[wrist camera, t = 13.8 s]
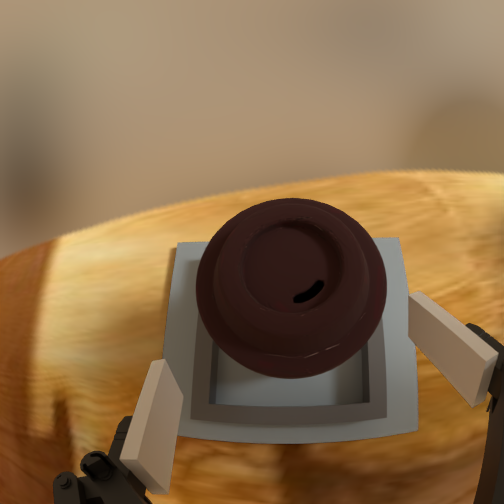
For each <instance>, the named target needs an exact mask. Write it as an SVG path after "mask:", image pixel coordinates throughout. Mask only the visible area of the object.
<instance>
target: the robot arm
mask: <svg viewBox="0 0 504 504" xmlns="http://www.w3.org/2000/svg"><path fill="white" fill-rule="evenodd" d="M408 337H409V338H410V339H411V340H412V341H413V342H414V344H415V345H416V346H417V347H418V348H419V349H420V350H421V351H422V352H423V353H424V354H425V355H426V356H427V358H428V359H429V360H430V361H431V362H432V363H433V364H434V365H435V366H436V367H437V369H438V370H439V371H440V372H441V373H442V374H443V375H444V376H445V377H446V379H447V380H448V381H449V382H450V383H451V384H452V385H453V386H454V388H455V389H456V390H457V391H458V392H459V393H460V394H461V396H462V397H463V398H464V399H465V400H466V401H467V403H468V404H469V405H470V406H471V407H472V408H473V407H475V406H477V405H478V404H480V403H481V402H483V401H484V400H485V398H486V395H487V392H489V393H490V394H491V395H492V397H491V400H490V402H489V405H488V408H487V411H486V412H488V411H489V409H490V412H489V423H488V432H487V440H486V447H485V453H484V459H483V464H482V469H481V474H480V479H479V483H478V488H477V492H476V496H475V499H474V503H473V504H504V346H503V345H502V344H500V343H499V342H498V341H497V340H495V339H494V338H493V337H492V336H491V337H490V335H489V334H488V333H485V331H484V330H483V329H481V328H480V327H479V326H477V325H474V324H471V323H468V324H466V325H464V324H462V323H461V322H460V321H459V320H457V319H456V318H455V317H453V316H452V315H451V314H450V313H448V312H447V311H446V310H444V309H443V308H442V307H441V306H439V305H438V304H437V303H435V302H434V301H433V300H431V299H430V298H429V297H427V296H426V295H425V294H423V293H422V292H421V291H417V292H415V293H412V294H409V295H408ZM183 397H184V396H183V394H182V392H181V390H180V388H179V386H178V384H177V382H176V380H175V378H174V376H173V374H172V372H171V370H170V368H169V366H168V364H167V362H166V359H160V360H154V361H152V362H151V365H150V368H149V371H148V374H147V376H146V379H145V382H144V385H143V388H142V391H141V394H140V397H139V399H138V402H137V405H136V408H135V411H134V414H133V416H125V417H124V418H123V420H122V421H121V422H120V423H119V425H118V428H117V430H116V434H115V436H114V440H113V442H112V445H111V448H110V451H109V454H108V456H107V455H106V454H105V453H104V452H102V451H93V452H90V453H88V454H87V455H85V456H84V458H83V459H82V460H81V464H80V468H81V470H82V471H83V472H84V473H85V474H86V475H87V476H85V477H79V478H77V477H76V476H75V475H74V474H73V473H72V472H63V473H60V474H59V475H58V476H57V477H56V478H55V480H54V482H53V493H54V504H152V502H151V501H150V500H149V499H148V497H146V496H145V491H146V488H147V489H148V490H149V491H150V492H151V493H152V494H169V489H170V481H171V474H172V467H173V460H174V453H175V447H176V440H177V434H178V427H179V421H180V415H181V409H182V403H183Z"/></svg>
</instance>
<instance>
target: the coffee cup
mask: <svg viewBox="0 0 504 504" xmlns="http://www.w3.org/2000/svg"><path fill="white" fill-rule="evenodd" d="M386 297H387V277H386V271H385V266H384V262H383V259H382V256H381V254H380V252H379V250H378V248H377V246H376V244H375V242H374V241H373V239H372V238H371V236H370V235H369V234H368V232H367V231H366V230H365V229H364V228H363V227H362V226H361V225H360V224H359V223H358V222H357V221H356V220H354V219H353V218H351V217H350V216H349V215H347V214H346V213H344V212H343V211H341V210H339V209H337V208H335V207H333V206H330V205H328V204H325V203H321V202H318V201H314V200H309V199H300V198H285V199H276V200H271V201H266V202H263V203H260V204H257V205H254V206H252V207H250V208H248V209H246V210H244V211H242V212H240V213H238V214H237V215H236V216H234V217H233V218H232V219H230V220H229V221H227V222H226V223H225V224H224V225H223V226H222V227H221V228H220V229H219V230H218V231H217V232H216V234H215V235H214V236H213V237H212V239H211V240H210V242H209V243H208V245H207V247H206V249H205V251H204V253H203V255H202V257H201V260H200V263H199V266H198V270H197V277H196V301H197V307H198V310H199V313H200V316H201V319H202V322H203V324H204V326H205V328H206V330H207V332H208V333H209V335H210V336H211V338H212V339H213V340H214V342H215V343H216V344H217V345H218V346H219V348H220V349H221V350H222V351H224V352H225V353H226V354H227V355H228V356H229V357H231V358H232V359H233V360H235V361H236V362H237V363H239V364H241V365H242V366H244V367H246V368H247V369H249V370H252V371H254V372H256V373H259V374H262V375H265V376H269V377H275V378H282V379H300V378H307V377H312V376H316V375H319V374H323V373H325V372H327V371H330V370H332V369H334V368H336V367H338V366H339V365H341V364H343V363H344V362H345V361H347V360H348V359H350V358H351V357H352V356H353V355H355V354H356V353H357V352H358V351H359V350H360V349H361V348H362V347H363V346H364V345H365V344H366V343H367V341H368V340H369V339H370V337H371V336H372V335H373V333H374V332H375V330H376V328H377V326H378V324H379V322H380V320H381V317H382V314H383V311H384V308H385V304H386Z"/></svg>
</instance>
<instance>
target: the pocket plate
mask: <svg viewBox="0 0 504 504" xmlns="http://www.w3.org/2000/svg"><path fill="white" fill-rule="evenodd" d="M372 239H373V241H374V242H375V244H376V246H377V248H378V250H379V252H380V254H381V256H382V259H383V262H384V266H385V271H386V277H387V297H386V304H385V308H384V311H383V314H382V317H381V320H380V322H379V324H378V326H377V328H376V330H375V332H374V333H373V335H372V336H371V337H370V339H369V340H368V341H367V343H366V344H365V345H364V346H363V347H362V348H361V349H360V350H359V351H358V352H357V353H356V354H355V355H353V356H352V357H351V358H350V359H348V360H347V361H345V362H344V363H343V364H341V365H339V366H338V367H336V368H334V369H332V370H330V371H327V372H325V373H323V374H319V375H316V376H312V377H307V378H300V379H282V378H275V377H269V376H265V375H262V374H259V373H256V372H254V371H252V370H249V369H247V368H246V367H244V366H242V365H241V364H239V363H237V362H236V361H235V360H233V359H232V358H231V357H229V356H228V355H227V354H226V353H225V352H224V351H222V350H221V349H220V348H219V346H218V345H217V344H216V343H215V342H214V340H213V339H212V338H211V336H210V335H209V333H208V332H207V330H206V328H205V326H204V324H203V322H202V319H201V316H200V313H199V310H198V307H197V301H196V277H197V270H198V266H199V263H200V260H201V257H202V255H203V253H204V251H205V249H206V247H207V245H208V243H209V242H183V243H178V244H177V250H176V257H175V263H174V269H173V276H172V283H171V290H170V297H169V305H168V312H167V320H166V329H165V338H164V347H163V357H162V359H166V362H167V364H168V366H169V368H170V370H171V372H172V374H173V376H174V378H175V380H176V382H177V384H178V386H179V388H180V390H181V392H182V394H183V396H184V397H183V403H182V409H181V415H180V421H179V427H178V434H177V436H184V437H191V438H199V439H207V440H217V441H228V442H243V443H266V444H303V443H326V442H341V441H352V440H361V439H370V438H377V437H384V436H391V435H397V434H403V433H408V432H413V431H418V380H417V362H416V349H415V344H414V342H413V341H412V340H411V339H410V338H409V337H408V295H409V290H408V284H407V278H406V272H405V267H404V261H403V256H402V251H401V246H400V241H399V238H372Z"/></svg>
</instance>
